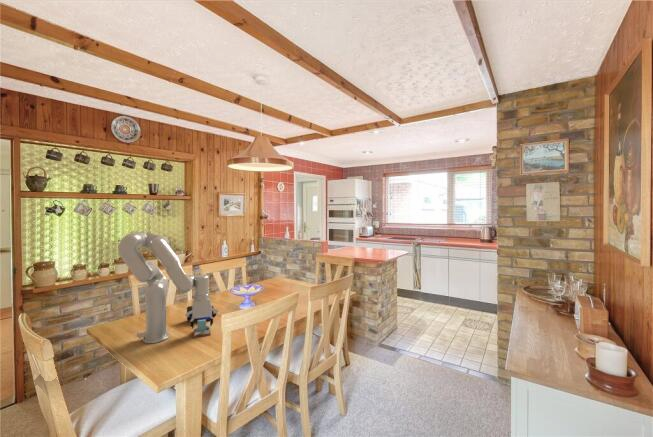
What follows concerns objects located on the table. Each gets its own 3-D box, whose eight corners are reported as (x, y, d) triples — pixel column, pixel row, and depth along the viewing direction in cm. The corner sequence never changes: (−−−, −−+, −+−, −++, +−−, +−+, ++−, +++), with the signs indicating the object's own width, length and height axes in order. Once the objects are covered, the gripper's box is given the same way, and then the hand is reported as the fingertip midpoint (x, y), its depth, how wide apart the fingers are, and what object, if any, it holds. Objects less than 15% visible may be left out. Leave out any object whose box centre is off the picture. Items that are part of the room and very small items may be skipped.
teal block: (197, 333, 163) (197, 323, 163) (197, 330, 167) (197, 320, 167) (206, 332, 165) (206, 322, 165) (205, 329, 169) (205, 319, 169)
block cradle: (193, 337, 160) (193, 333, 160) (193, 331, 168) (193, 327, 168) (210, 335, 164) (210, 330, 164) (210, 329, 172) (210, 324, 172)
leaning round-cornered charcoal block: (184, 323, 180) (184, 308, 180) (187, 320, 185) (187, 305, 185) (212, 322, 183) (212, 307, 182) (214, 319, 187) (213, 304, 187)
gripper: (184, 300, 159) (184, 331, 159) (218, 297, 165) (218, 326, 166) (185, 296, 165) (185, 326, 166) (217, 293, 172) (217, 321, 173)
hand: (202, 326), depth 166 cm, fingers open, 9 cm apart
